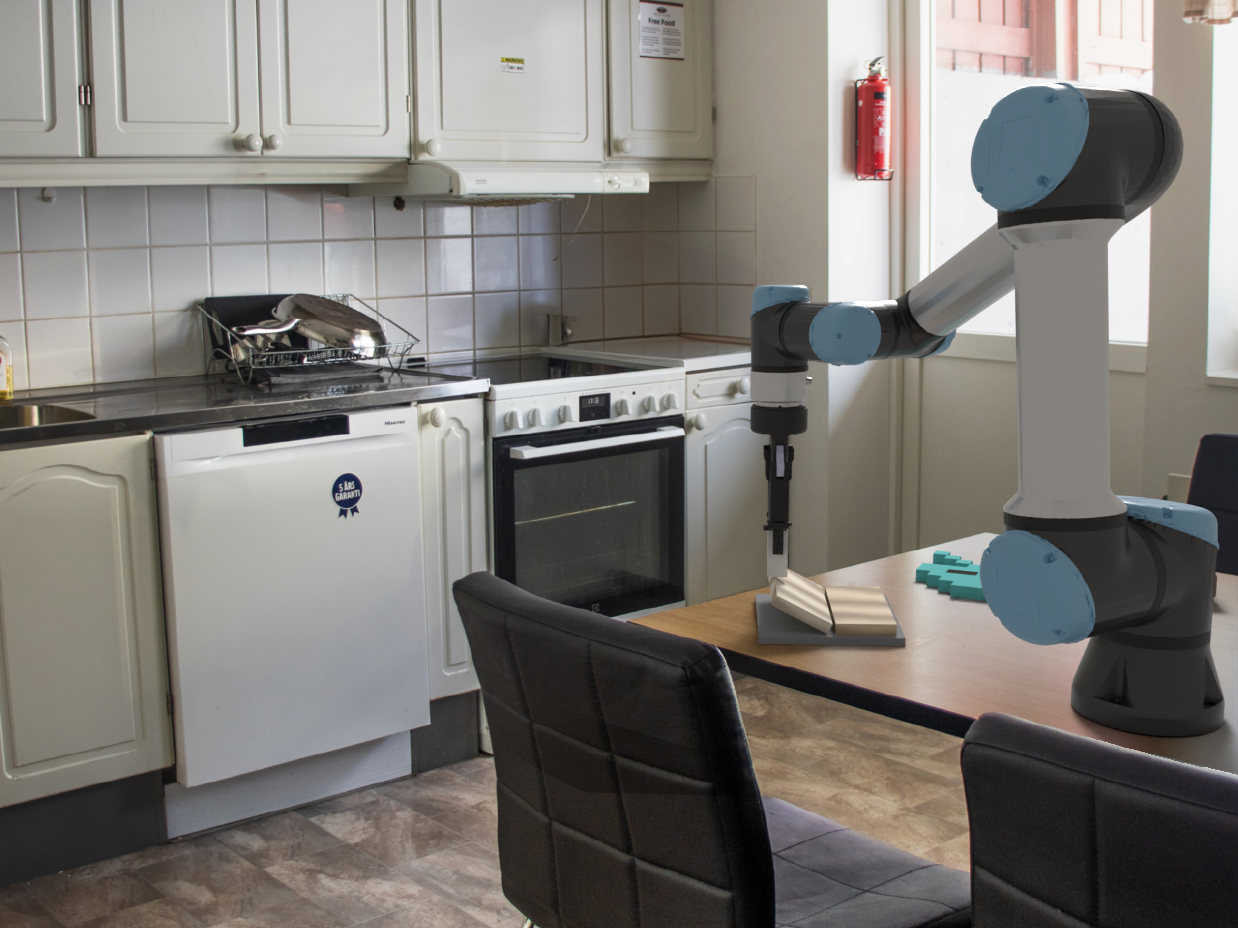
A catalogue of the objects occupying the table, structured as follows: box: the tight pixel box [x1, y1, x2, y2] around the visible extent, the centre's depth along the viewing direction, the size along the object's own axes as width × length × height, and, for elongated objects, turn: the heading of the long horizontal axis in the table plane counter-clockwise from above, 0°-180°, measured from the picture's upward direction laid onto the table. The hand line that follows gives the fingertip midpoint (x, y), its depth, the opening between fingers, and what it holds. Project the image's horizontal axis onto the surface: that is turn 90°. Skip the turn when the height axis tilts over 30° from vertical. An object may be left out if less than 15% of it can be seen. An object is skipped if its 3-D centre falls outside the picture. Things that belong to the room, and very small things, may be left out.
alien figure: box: [915, 550, 986, 602], centre depth 181 cm, size 20×2×20 cm
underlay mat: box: [755, 593, 907, 647], centre depth 162 cm, size 20×18×1 cm
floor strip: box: [824, 585, 897, 636], centre depth 162 cm, size 18×8×2 cm, turn 175°
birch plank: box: [767, 568, 832, 634], centre depth 162 cm, size 18×8×2 cm, turn 175°
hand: (777, 575), depth 162 cm, fingers closed
